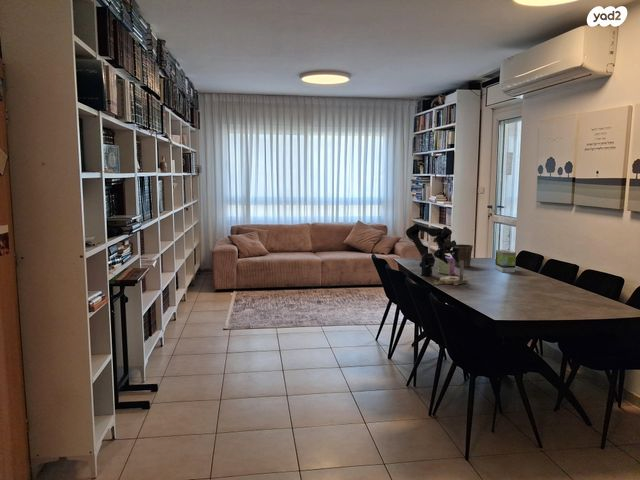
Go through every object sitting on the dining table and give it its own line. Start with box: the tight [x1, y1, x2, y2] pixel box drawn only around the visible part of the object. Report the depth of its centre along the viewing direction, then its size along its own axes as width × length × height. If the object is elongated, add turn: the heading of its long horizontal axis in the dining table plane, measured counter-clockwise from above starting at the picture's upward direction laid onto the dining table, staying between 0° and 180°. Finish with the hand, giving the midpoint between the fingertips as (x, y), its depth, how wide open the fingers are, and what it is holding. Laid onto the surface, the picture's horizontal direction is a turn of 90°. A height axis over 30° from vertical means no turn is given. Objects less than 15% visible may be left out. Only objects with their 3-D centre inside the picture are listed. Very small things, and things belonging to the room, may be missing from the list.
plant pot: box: [451, 243, 474, 268], centre depth 382 cm, size 16×16×16 cm
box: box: [437, 256, 455, 276], centre depth 354 cm, size 10×6×12 cm, turn 40°
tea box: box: [494, 249, 517, 273], centre depth 363 cm, size 15×10×15 cm
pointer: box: [433, 280, 442, 286], centre depth 318 cm, size 5×2×2 cm, turn 118°
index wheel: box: [435, 261, 470, 286], centre depth 323 cm, size 19×21×15 cm
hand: (452, 262), depth 322 cm, fingers open, 9 cm apart
